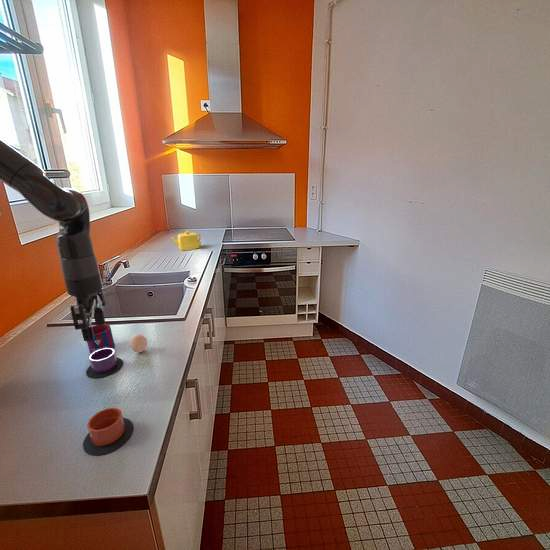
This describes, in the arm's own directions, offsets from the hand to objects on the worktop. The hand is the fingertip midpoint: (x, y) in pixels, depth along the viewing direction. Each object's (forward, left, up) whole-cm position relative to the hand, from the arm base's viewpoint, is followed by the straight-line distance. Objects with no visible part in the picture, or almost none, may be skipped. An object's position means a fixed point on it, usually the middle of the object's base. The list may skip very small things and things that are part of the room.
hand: (95, 331), depth 79 cm
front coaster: (+8, -25, -11) cm, 28 cm away
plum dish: (0, 0, -11) cm, 11 cm away
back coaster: (0, 0, -11) cm, 11 cm away
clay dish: (+8, -25, -11) cm, 28 cm away
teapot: (+14, +136, -11) cm, 137 cm away
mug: (-4, +12, -11) cm, 17 cm away
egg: (+8, +6, -11) cm, 15 cm away
